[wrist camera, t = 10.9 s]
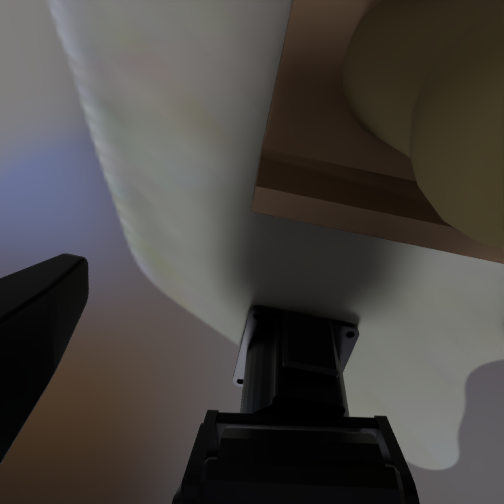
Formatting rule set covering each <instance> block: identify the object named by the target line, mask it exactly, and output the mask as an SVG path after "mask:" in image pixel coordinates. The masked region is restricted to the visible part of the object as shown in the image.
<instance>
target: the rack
mask: <svg viewBox="0 0 504 504" xmlns="http://www.w3.org/2000/svg"><path fill="white" fill-rule="evenodd" d="M380 1H381V0H293V3H292V8H291V12H290V17H289V22H288V26H287V31H286V36H285V41H284V45H283V50H282V55H281V60H280V64H279V69H278V74H277V78H276V83H275V88H274V93H273V97H272V102H271V107H270V112H269V116H268V121H267V126H266V131H265V135H264V140H263V145H262V149H261V154H260V159H259V164H258V170H257V176H256V183H255V189H254V195H253V201H252V207H251V211H252V212H257V213H261V214H266V215H271V216H276V217H281V218H286V219H290V220H295V221H300V222H305V223H310V224H314V225H319V226H324V227H329V228H334V229H339V230H343V231H348V232H353V233H358V234H363V235H368V236H372V237H377V238H382V239H387V240H392V241H397V242H401V243H406V244H411V245H416V246H421V247H426V248H430V249H435V250H440V251H445V252H450V253H454V254H459V255H464V256H469V257H474V258H479V259H483V260H488V261H493V262H498V263H503V264H504V249H502V248H497V247H493V246H488V245H484V244H482V243H480V242H478V241H476V240H474V239H472V238H470V237H469V236H467V235H466V234H464V233H462V232H461V231H459V230H458V229H456V228H454V227H453V226H451V225H450V224H448V223H446V222H445V221H443V220H442V218H441V217H440V216H439V214H438V213H437V211H436V210H435V209H434V207H433V206H432V205H431V203H430V202H429V201H428V199H427V198H426V196H425V195H424V194H423V192H422V191H421V189H420V188H419V186H418V185H417V181H416V177H415V173H414V169H413V165H412V161H411V158H409V157H407V156H406V155H404V154H402V153H401V152H399V151H397V150H396V149H394V148H392V147H391V146H389V145H387V144H386V143H384V142H382V141H381V140H379V139H378V138H376V137H375V136H373V135H372V134H370V133H368V132H367V131H365V130H364V129H362V127H361V126H360V125H359V123H358V122H357V121H356V119H355V118H354V117H353V115H352V114H351V113H350V111H349V108H348V105H347V102H346V98H345V95H344V92H343V62H344V59H345V56H346V53H347V49H348V46H349V43H350V39H351V37H352V36H353V34H354V33H355V31H356V29H357V28H358V26H359V25H360V23H361V22H362V20H363V18H364V17H365V15H366V14H367V13H368V12H369V11H370V10H371V9H373V8H374V7H375V6H376V5H377V4H378V3H379V2H380Z"/></svg>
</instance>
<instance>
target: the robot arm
mask: <svg viewBox="0 0 504 504" xmlns="http://www.w3.org/2000/svg"><path fill="white" fill-rule="evenodd" d="M88 285H89V283H88V262H87V259H86V258H85V257H82V256H77V255H72V254H66V253H65V254H61V255H59V256H56V257H53V258H51V259H48V260H46V261H43V262H41V263H38V264H35V265H33V266H30V267H28V268H26V269H23V270H20V271H18V272H15V273H13V274H10V275H8V276H5V277H3V278H0V464H1V462H2V461H3V459H4V457H5V456H6V454H7V452H8V451H9V449H10V447H11V446H12V444H13V442H14V441H15V439H16V437H17V436H18V434H19V432H20V431H21V429H22V427H23V426H24V424H25V422H26V421H27V419H28V417H29V416H30V414H31V412H32V411H33V409H34V407H35V406H36V404H37V402H38V401H39V399H40V397H41V396H42V394H43V392H44V391H45V389H46V387H47V386H48V384H49V382H50V380H51V379H52V377H53V375H54V373H55V371H56V369H57V367H58V365H59V363H60V361H61V359H62V356H63V354H64V352H65V350H66V348H67V345H68V343H69V341H70V338H71V337H72V334H73V332H74V330H75V327H76V325H77V323H78V321H79V319H80V317H81V314H82V312H83V310H84V308H85V305H86V303H87V299H88V293H89V292H88V291H89V286H88ZM255 313H260V314H261V315H255ZM349 331H352V333H347V332H349ZM358 337H359V331H358V328H357V326H356V325H354V324H351V323H346V322H341V321H336V320H331V319H327V318H322V317H317V316H311V315H306V314H301V313H296V312H291V311H286V310H281V309H276V308H270V307H265V306H260V305H255V306H253V307H251V308H250V310H249V314H248V318H247V322H246V327H245V331H244V335H243V339H242V343H241V347H240V351H239V355H238V359H237V363H236V367H235V371H234V375H233V383H234V384H235V385H236V386H239V387H243V390H242V399H241V408H240V413H227V412H219V411H218V410H207V413H206V416H205V420H204V423H201V425H200V428H199V431H198V434H197V437H196V440H195V443H194V446H193V449H192V452H191V456H190V459H189V461H188V464H187V468H186V471H185V474H184V477H183V480H182V482H181V484H180V486H179V488H178V490H177V491H176V494H175V495H174V497H173V501H172V504H420V503H419V498H418V494H417V490H416V486H415V483H414V480H413V478H412V475H411V473H410V470H409V468H408V465H407V463H406V461H405V458H404V456H403V454H402V451H401V449H400V447H399V444H398V442H397V440H396V437H395V435H394V433H393V430H392V428H391V426H390V423H389V421H388V419H387V417H386V416H374V418H371V417H349V410H348V404H347V398H346V391H345V385H344V379H343V371H344V369H345V366H346V364H347V362H348V359H349V357H350V355H351V353H352V350H353V348H354V346H355V343H356V341H357V339H358Z"/></svg>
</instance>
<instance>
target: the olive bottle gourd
mask: <svg viewBox="0 0 504 504" xmlns="http://www.w3.org/2000/svg"><path fill="white" fill-rule="evenodd" d="M343 92H344V95H345V98H346V102H347V105H348V108H349V111H350V113H351V114H352V115H353V117H354V118H355V119H356V121H357V122H358V123H359V125H360V126H361V127H362V129H364V130H365V131H367V132H368V133H370V134H372V135H373V136H375V137H376V138H378V139H379V140H381V141H382V142H384V143H386V144H387V145H389V146H391V147H392V148H394V149H396V150H397V151H399V152H401V153H402V154H404V155H406V156H407V157H409V158H411V161H412V165H413V169H414V173H415V177H416V181H417V185H418V186H419V188H420V189H421V191H422V192H423V194H424V195H425V196H426V198H427V199H428V201H429V202H430V203H431V205H432V206H433V207H434V209H435V210H436V211H437V213H438V214H439V216H440V217H441V218H442V220H443V221H445V222H446V223H448V224H450V225H451V226H453V227H454V228H456V229H458V230H459V231H461V232H462V233H464V234H466V235H467V236H469V237H470V238H472V239H474V240H476V241H478V242H480V243H482V244H484V245H488V246H493V247H497V248H502V249H504V0H381V1H380V2H379V3H378V4H377V5H376V6H375V7H374V8H373V9H371V10H370V11H369V12H368V13H367V14H366V15H365V17H364V18H363V20H362V22H361V23H360V25H359V26H358V28H357V29H356V31H355V33H354V34H353V36H352V37H351V39H350V43H349V46H348V49H347V53H346V56H345V59H344V62H343Z"/></svg>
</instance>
